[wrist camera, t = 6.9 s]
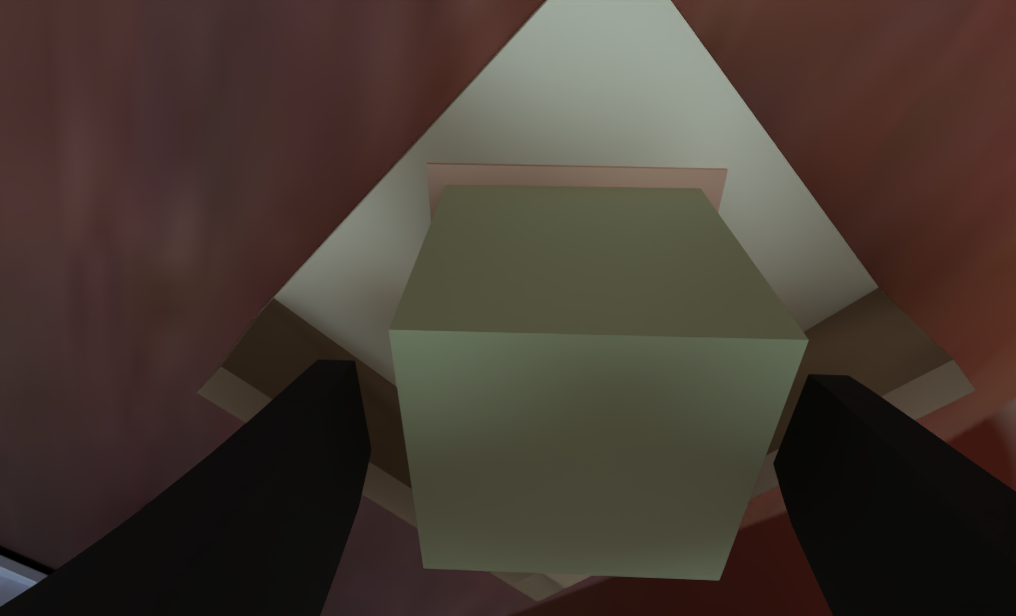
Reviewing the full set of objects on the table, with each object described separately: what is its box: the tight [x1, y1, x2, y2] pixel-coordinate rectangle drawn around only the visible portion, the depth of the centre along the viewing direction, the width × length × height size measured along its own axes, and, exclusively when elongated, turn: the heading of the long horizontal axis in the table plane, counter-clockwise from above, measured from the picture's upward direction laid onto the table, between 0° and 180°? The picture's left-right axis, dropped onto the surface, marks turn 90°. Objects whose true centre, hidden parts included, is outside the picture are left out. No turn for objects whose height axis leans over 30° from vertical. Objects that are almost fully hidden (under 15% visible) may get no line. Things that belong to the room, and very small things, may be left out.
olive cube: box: [389, 185, 809, 580], centre depth 10 cm, size 5×5×5 cm
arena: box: [197, 0, 975, 602], centre depth 12 cm, size 11×10×3 cm
